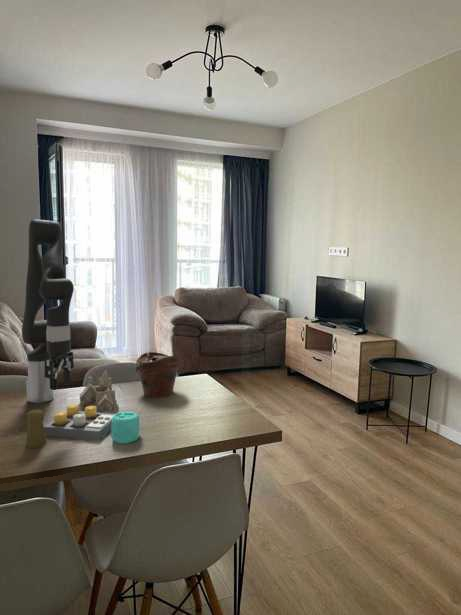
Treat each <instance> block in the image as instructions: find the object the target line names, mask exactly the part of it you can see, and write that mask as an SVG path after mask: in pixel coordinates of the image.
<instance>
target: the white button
mask: <svg viewBox="0 0 461 615" xmlns="http://www.w3.org/2000/svg"><path fill="white" fill-rule="evenodd" d="M85 424H86V415H85V414H76V415H74V416H73V425H74V426H84V425H85Z"/></svg>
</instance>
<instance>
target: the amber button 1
mask: <svg viewBox="0 0 461 615" xmlns="http://www.w3.org/2000/svg"><path fill="white" fill-rule="evenodd" d="M65 412H66V411H65ZM65 412H62V411H60V412H56V413H54V415H53V416H54V417H53V418H54V419H53V420H54V424H56V425H63V424H65V423H67V413H65Z"/></svg>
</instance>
